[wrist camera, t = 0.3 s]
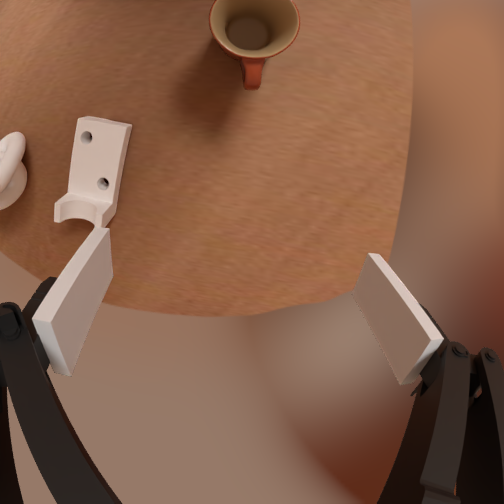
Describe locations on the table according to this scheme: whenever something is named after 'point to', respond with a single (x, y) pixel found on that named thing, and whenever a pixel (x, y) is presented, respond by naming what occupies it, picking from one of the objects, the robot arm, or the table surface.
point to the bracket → (94, 171)
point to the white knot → (12, 168)
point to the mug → (253, 32)
